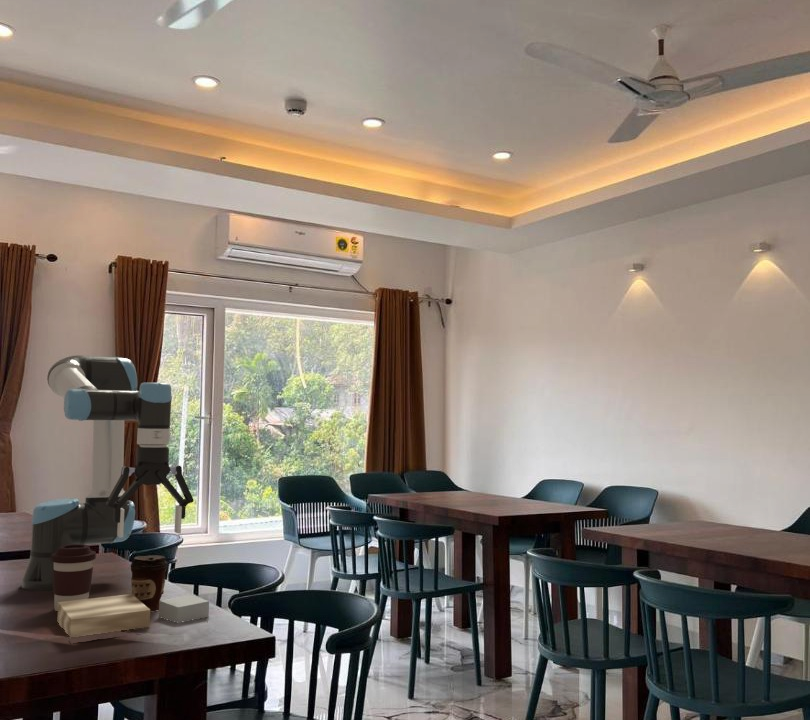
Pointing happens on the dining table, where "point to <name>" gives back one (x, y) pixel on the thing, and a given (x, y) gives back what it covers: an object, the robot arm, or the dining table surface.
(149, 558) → the coffee cup
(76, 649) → the dining table surface
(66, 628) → the beech block
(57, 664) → the dining table surface
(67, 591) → the coffee cup
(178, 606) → the grey block
